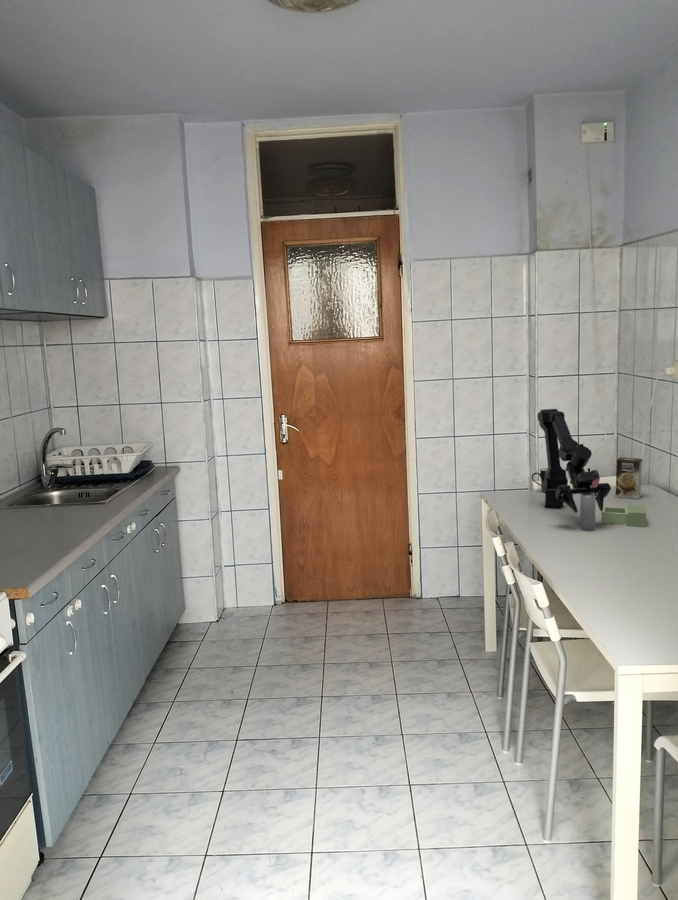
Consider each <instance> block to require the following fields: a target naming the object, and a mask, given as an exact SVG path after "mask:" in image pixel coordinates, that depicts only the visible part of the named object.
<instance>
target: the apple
mask: <svg viewBox="0 0 678 900" xmlns="http://www.w3.org/2000/svg"><path fill="white" fill-rule="evenodd" d="M587 472H591V468H590V467H589V468H587ZM600 479H601V477H600V476H599V478H598V479H595V481H592V485H590V488H593V487H596V486H597V485H598V483H600Z"/></svg>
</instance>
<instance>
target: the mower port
mask: <svg viewBox="0 0 678 900" xmlns="http://www.w3.org/2000/svg"><path fill="white" fill-rule="evenodd" d="M600 521H601V524H604V523H612V524H611V525H622V524H628V525H627V526H628V527H642V528H646V527H647V507H646V504H627V507H617V506H603V511H601V520H600ZM613 523H614V524H613Z"/></svg>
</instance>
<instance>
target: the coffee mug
mask: <svg viewBox="0 0 678 900" xmlns="http://www.w3.org/2000/svg"><path fill="white" fill-rule="evenodd" d="M547 469H548V466H547V467H541V468H539V472H540V473H539V472H534V473H532V474H531V479H532V481H533V482H534V483H535V484H537V485H538V486H540V487H541V485H542V483H543V481H544V479H545V473H546V471H547ZM535 475H538V476H539V477H540V481H541V484H540V483H539V482H538V481H536V480H535V479H534V476H535Z"/></svg>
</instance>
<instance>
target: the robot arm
mask: <svg viewBox="0 0 678 900" xmlns="http://www.w3.org/2000/svg"><path fill="white" fill-rule="evenodd" d="M565 418H566V417H565V413H564V412H563V411H561V410H558V408H546V409H540V411H539V412H538V413H537V421H538V424H539V427H540V428H541V429H542V431H543V432H544V440H545V450H546V451H545V452H546V458H547V461H546V462H547V467H548V469H547V471H546V473H545V479H544V481H543V483H541V486H540V487H541V491H543V492H545V493H544V494H545V500H544V504H545V505H544V508H547V509H548V508H550V509H562V508H563V507H564V504H565V505H566V506H568V507H569V508H570V509H571V510H572V511H573V512H574V513H575V514H577V513H578V507H577V505H576V502H575V499H574V496H573V495H581V494H583V493H591V494H595V495H596V498H595V502H596V504H597V506H598V509H599V511H600V512H602V511H603V507H604V499H605V498H606V497H607V496H608V495H609V493H610V491H611V490H612V488H611V484H610V483H608V482H599V483H598V484H597V486H596V487H593V488H590V485H592V481H595V479H598V478H599V477H600V473H599V471H598V469H592V470H590V472H588V471H585V467H586V466H587V464H588V462H589V461H590V459H591V457H592V451H591V449H589V448H588V447H587V446H585V445H584V444H583V443H578V442H577V440H575V439H574V438H572V435H571V431H570V429H569V428H568V427H569V426H568V424H567V422H566V419H565ZM561 461H563V462H567V463H566V467H565V469H564V468H563V467H562V466H561ZM567 473H568V477H569V480H568V477H567ZM568 482H569V484H570V485H569V484H568ZM571 486H572V488H571ZM543 492H542V493H543Z"/></svg>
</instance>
